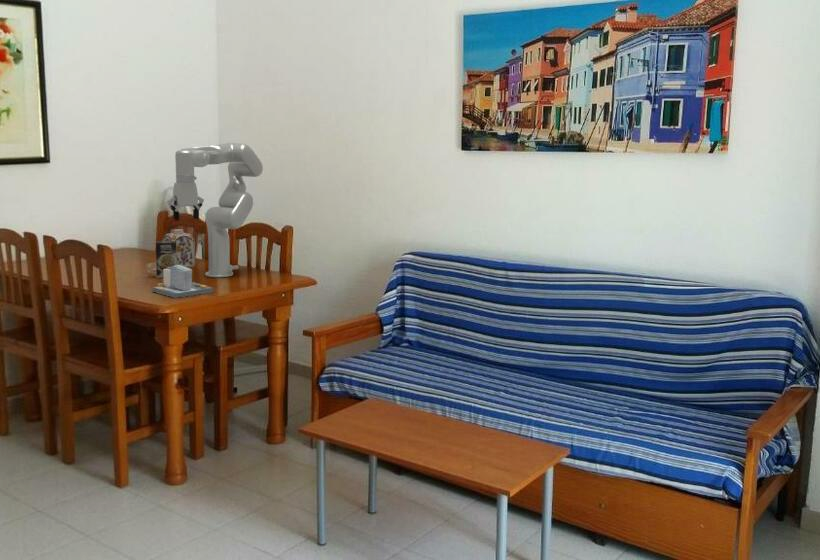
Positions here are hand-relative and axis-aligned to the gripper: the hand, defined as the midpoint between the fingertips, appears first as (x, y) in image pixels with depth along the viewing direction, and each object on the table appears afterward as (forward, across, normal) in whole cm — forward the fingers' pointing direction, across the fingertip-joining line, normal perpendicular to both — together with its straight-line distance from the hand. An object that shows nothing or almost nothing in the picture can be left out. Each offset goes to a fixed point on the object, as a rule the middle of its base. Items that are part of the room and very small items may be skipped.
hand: (186, 219), depth 347 cm
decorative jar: (+29, -21, -40) cm, 53 cm away
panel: (+28, +12, +14) cm, 33 cm away
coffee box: (+28, -2, -20) cm, 35 cm away
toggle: (+26, +14, +9) cm, 31 cm away
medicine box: (+26, +15, +17) cm, 34 cm away
